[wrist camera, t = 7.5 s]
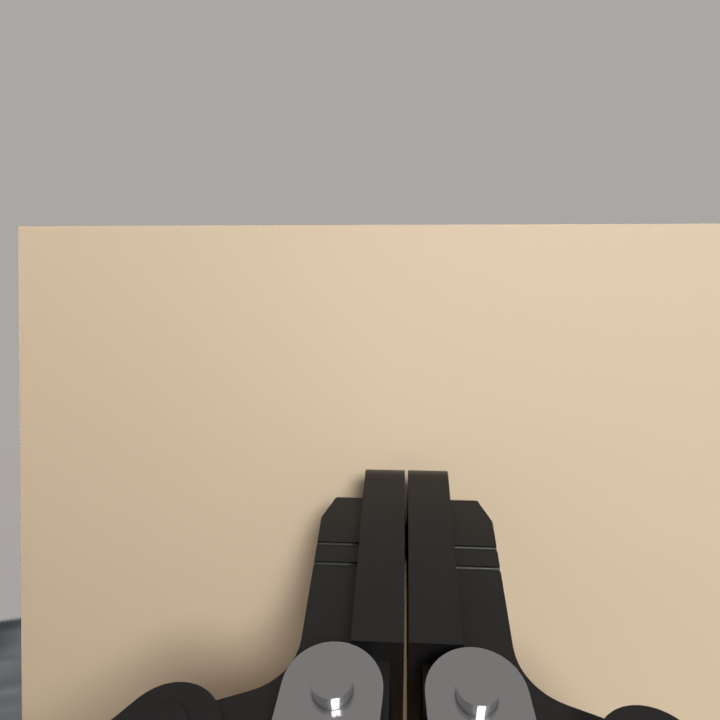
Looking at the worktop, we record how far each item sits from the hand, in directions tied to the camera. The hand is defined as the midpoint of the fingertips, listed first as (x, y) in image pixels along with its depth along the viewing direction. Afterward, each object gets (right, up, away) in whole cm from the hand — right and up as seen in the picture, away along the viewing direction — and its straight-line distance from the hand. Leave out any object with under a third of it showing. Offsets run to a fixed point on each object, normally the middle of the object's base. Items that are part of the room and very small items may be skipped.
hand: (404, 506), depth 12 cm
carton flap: (0, -1, 0) cm, 1 cm away
